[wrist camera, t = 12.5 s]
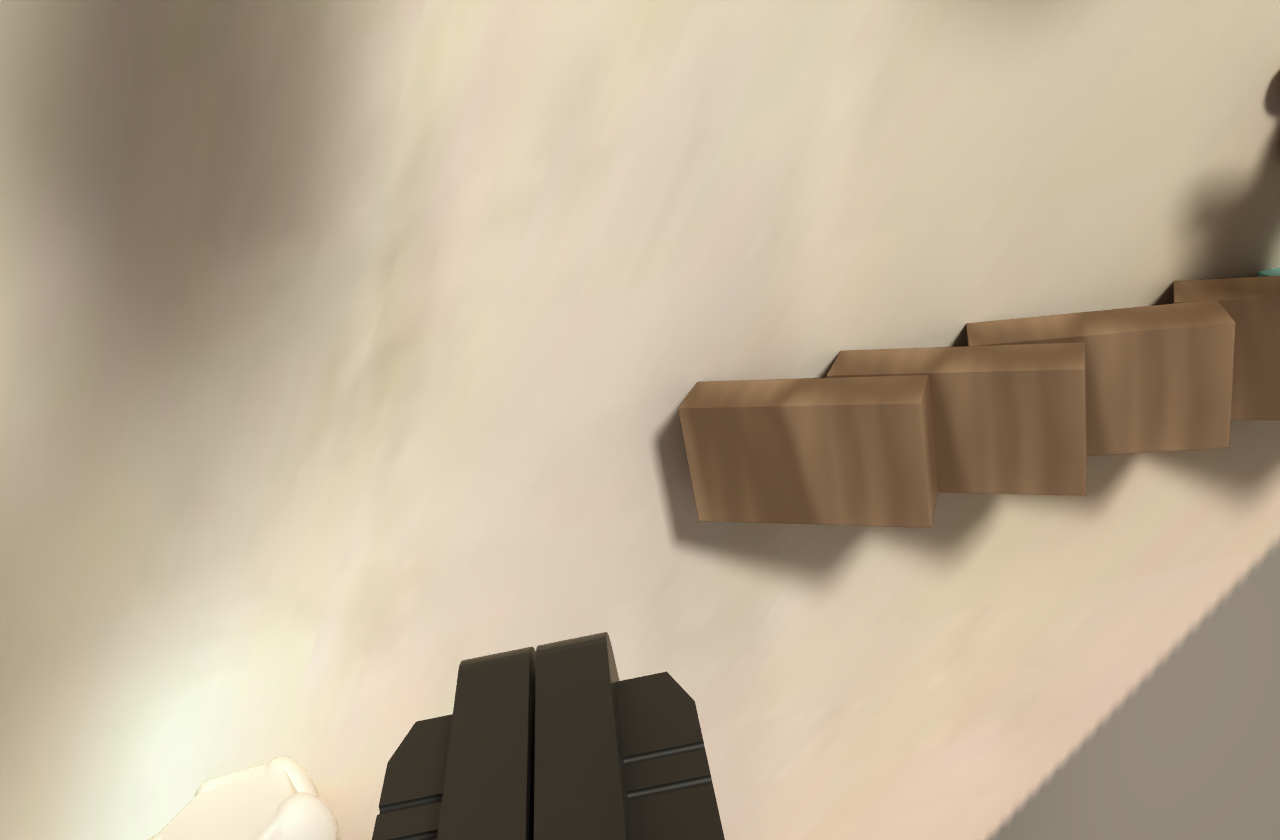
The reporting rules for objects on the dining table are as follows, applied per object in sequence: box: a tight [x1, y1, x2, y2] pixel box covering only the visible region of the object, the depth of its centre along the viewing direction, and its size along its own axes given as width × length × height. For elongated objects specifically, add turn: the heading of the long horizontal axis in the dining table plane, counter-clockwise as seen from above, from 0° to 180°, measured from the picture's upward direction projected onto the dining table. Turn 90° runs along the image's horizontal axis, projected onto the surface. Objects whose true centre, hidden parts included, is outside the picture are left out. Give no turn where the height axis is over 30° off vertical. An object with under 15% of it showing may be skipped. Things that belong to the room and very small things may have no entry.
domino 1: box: [678, 375, 938, 527], centre depth 38 cm, size 2×5×9 cm
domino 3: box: [966, 300, 1235, 456], centre depth 39 cm, size 2×5×9 cm
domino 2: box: [827, 342, 1087, 496], centre depth 38 cm, size 2×5×9 cm
